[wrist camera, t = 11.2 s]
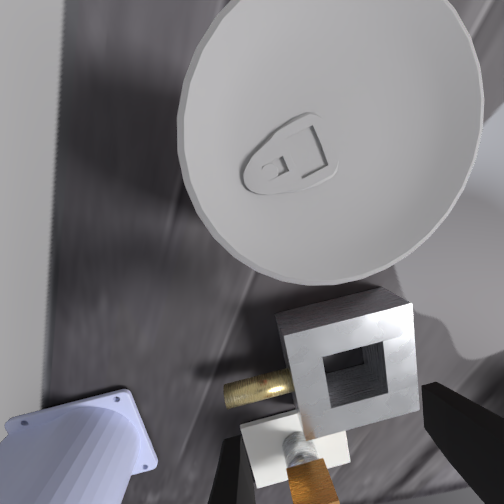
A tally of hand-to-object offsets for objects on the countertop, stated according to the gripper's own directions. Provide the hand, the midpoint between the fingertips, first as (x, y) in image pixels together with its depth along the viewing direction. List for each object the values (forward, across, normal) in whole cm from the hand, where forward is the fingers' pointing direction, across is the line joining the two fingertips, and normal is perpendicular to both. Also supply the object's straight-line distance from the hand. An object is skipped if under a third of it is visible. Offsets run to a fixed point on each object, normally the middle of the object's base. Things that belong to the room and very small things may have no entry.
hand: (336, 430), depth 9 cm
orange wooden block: (+10, +1, +13) cm, 16 cm away
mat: (+10, +1, +13) cm, 16 cm away
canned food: (+10, -1, -10) cm, 14 cm away
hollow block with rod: (+10, -2, +4) cm, 11 cm away
